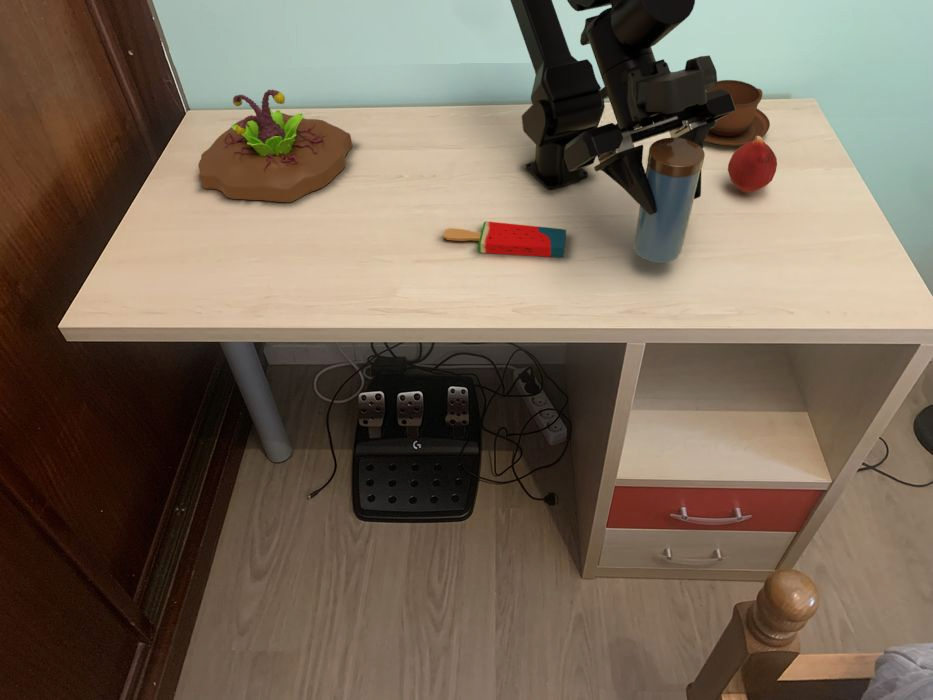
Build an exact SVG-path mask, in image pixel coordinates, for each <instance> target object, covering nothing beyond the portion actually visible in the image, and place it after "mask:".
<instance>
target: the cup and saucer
mask: <svg viewBox="0 0 933 700" xmlns="http://www.w3.org/2000/svg"><path fill="white" fill-rule="evenodd" d="M719 89H723V90H725V91H727V92H728V93H730V94H731V97H732V100H733V103H734V106H735V109H736V111H734V112H732V113H730V114H728V115H727V116H725V117H723V118H721V119H719V120H717V121H716V125H715V127H713V128H711V129H710V130H709V132H708V134H707V136H706V138H705V141H704V142H707V143H711V144H715V145H720V146H733V147H734V146H743V145H744V144H746V143H749V142H752V141H754V139H755V136H760V137H761V138H762V139H763V137H765V135H767V133H768V131H769V129H770V126H771V123H770V120H769V118H768V116H767V115H766V114H765V113H764V112H763V111H762V110H760V109H759V108H758V106H759V104H760V102H761V101H762V98H763V90H762V89H761V88H757V87H756V86H755V85H752V84H751V83H748V82H745V81H742V80H734V79H723V80H717V85H716V87H715V88H713V89H709V90H706V93H709V92H712V91H716V90H719Z"/></svg>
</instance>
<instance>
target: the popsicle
mask: <svg viewBox="0 0 933 700" xmlns="http://www.w3.org/2000/svg"><path fill="white" fill-rule="evenodd" d="M442 236H443V239H445V240H447V241H456V242H457V241H459V242H464V241H465V242H466V241H477V242H478V253H482V254H498V255H517V256H532V257H550V258H563V257H564V254H565V246H566V237H567V230H566V229H564V228H555V227H545V226H537V225H525V224H517V223H505V222H495V221H484V222H483V224H482V228H481V232H480V231H471V230H468V229H462V228H446V229H444V232H443V234H442Z"/></svg>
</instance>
